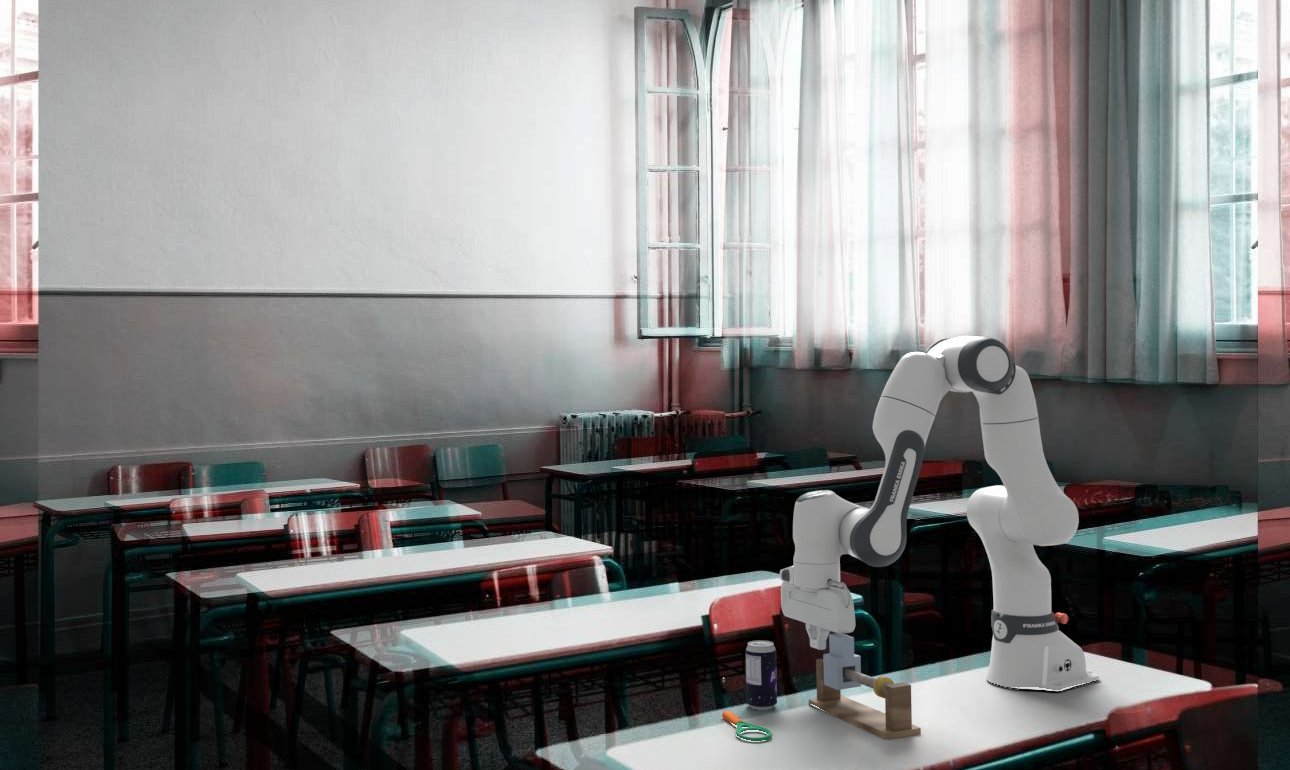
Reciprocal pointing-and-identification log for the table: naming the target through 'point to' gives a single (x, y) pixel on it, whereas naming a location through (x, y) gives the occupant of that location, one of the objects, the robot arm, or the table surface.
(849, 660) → the stacked grey blocks
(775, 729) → the table surface
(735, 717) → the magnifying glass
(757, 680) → the beverage can
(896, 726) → the wooden rod rail
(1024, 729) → the table surface
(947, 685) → the table surface
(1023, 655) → the robot arm
